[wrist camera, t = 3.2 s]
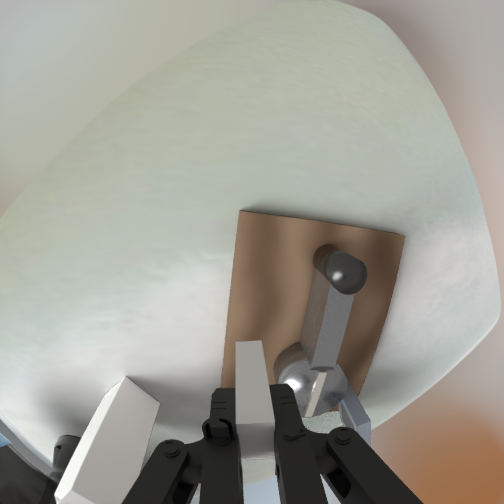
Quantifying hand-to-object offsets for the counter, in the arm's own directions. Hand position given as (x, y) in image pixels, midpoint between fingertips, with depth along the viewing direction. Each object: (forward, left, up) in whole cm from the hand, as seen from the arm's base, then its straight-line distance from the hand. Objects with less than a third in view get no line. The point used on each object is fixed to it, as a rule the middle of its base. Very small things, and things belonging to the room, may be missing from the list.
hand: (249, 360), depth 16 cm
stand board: (+8, -4, -13) cm, 16 cm away
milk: (-13, -18, -14) cm, 26 cm away
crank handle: (+8, -3, -12) cm, 14 cm away
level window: (+15, -14, -12) cm, 24 cm away
